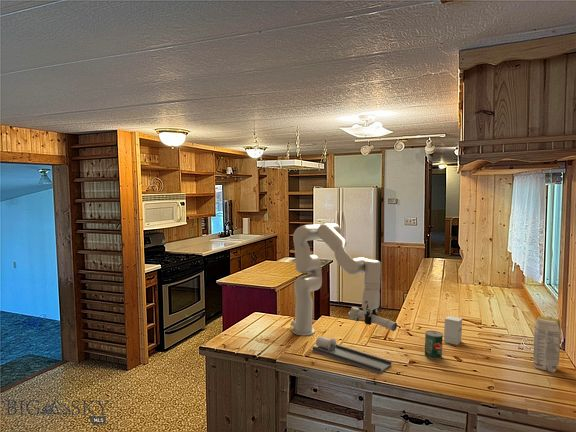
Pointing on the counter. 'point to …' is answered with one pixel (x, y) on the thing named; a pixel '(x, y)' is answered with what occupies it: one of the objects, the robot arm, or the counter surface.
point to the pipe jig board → (350, 355)
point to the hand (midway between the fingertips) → (370, 322)
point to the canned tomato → (433, 344)
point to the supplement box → (453, 330)
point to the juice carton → (547, 343)
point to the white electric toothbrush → (372, 319)
